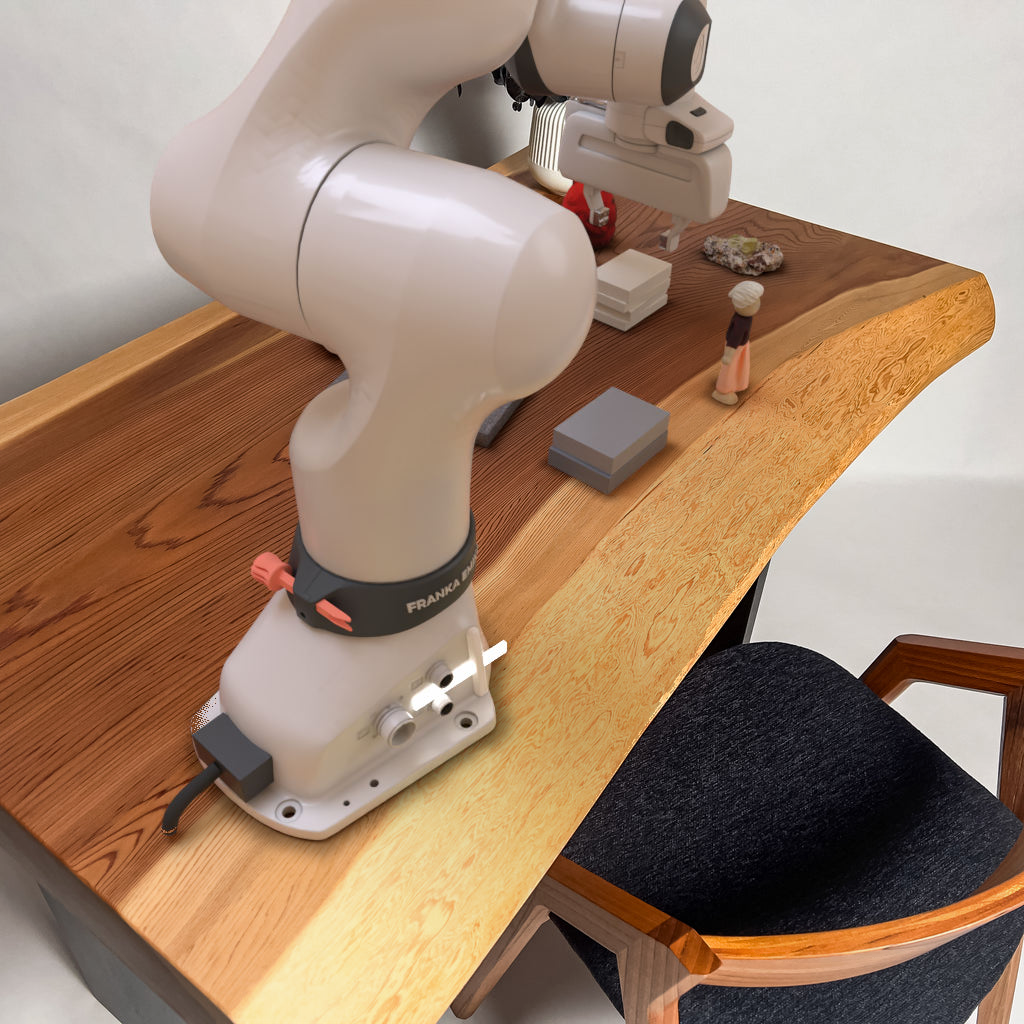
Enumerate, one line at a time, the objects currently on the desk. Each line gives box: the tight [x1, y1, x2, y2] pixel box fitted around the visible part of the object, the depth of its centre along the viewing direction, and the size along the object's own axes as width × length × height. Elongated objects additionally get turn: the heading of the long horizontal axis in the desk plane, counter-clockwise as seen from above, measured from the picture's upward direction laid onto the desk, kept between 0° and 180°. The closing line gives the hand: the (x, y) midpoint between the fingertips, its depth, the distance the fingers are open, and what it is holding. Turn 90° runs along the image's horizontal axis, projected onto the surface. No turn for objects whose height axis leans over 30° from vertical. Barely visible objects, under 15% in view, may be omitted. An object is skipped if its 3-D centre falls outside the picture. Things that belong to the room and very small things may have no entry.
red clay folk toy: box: [561, 180, 618, 251], centre depth 123 cm, size 8×7×15 cm
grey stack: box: [547, 386, 671, 496], centre depth 92 cm, size 10×7×4 cm
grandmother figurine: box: [711, 280, 765, 406], centre depth 98 cm, size 8×4×13 cm, turn 168°
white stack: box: [593, 277, 671, 332], centre depth 114 cm, size 10×7×4 cm
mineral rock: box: [701, 233, 785, 277], centre depth 125 cm, size 11×4×8 cm
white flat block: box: [597, 248, 673, 303], centre depth 112 cm, size 9×6×2 cm, turn 141°
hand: (632, 236), depth 109 cm, fingers open, 8 cm apart
